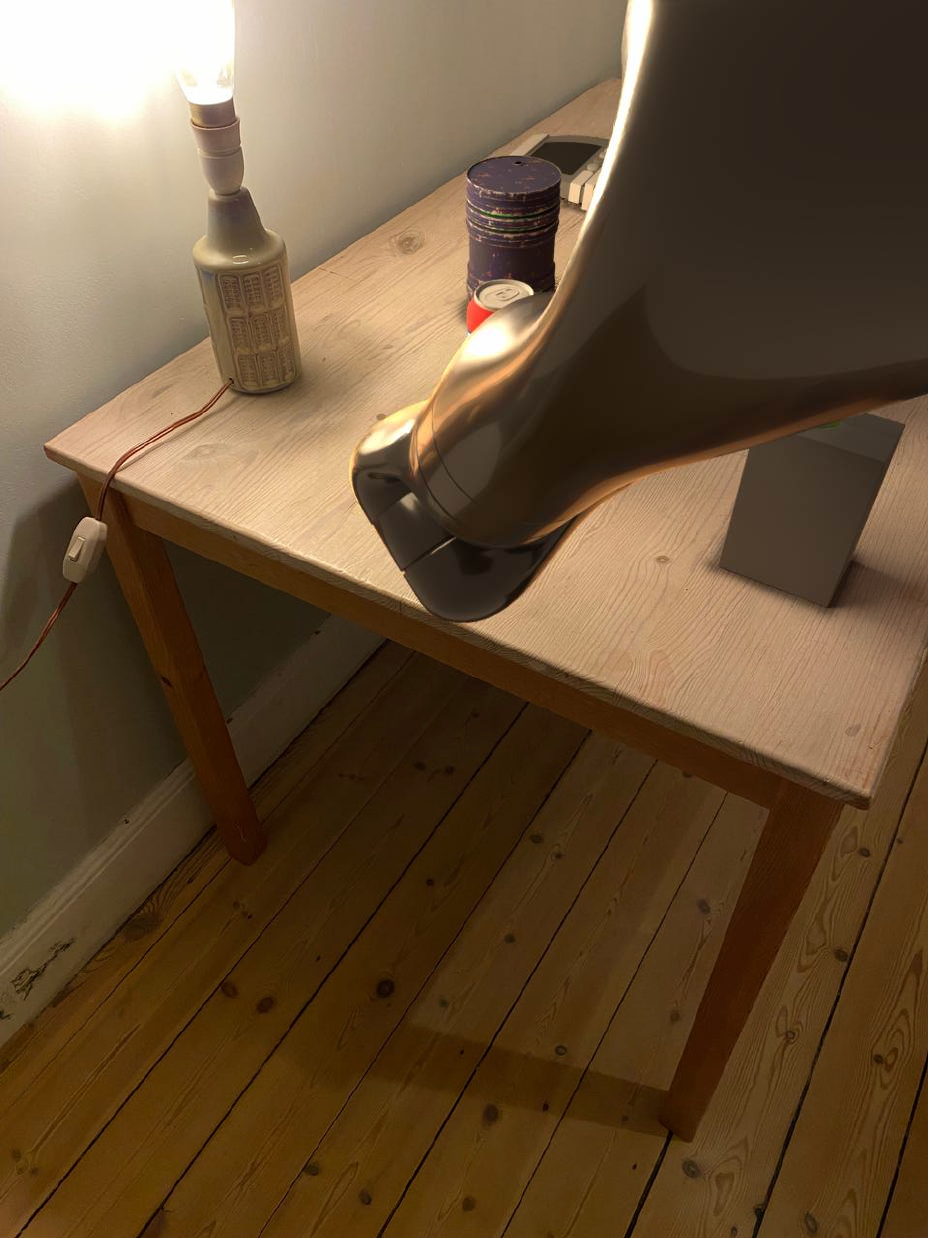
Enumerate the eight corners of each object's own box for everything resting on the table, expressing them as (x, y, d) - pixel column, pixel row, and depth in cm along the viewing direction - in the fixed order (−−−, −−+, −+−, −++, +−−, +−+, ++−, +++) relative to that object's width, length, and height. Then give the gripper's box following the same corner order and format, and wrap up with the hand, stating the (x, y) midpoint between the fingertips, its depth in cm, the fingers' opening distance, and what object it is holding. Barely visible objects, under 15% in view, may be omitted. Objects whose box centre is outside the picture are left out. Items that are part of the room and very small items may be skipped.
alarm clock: (594, 185, 118) (481, 154, 122) (588, 220, 122) (479, 189, 126) (638, 140, 129) (533, 113, 133) (631, 174, 132) (529, 146, 136)
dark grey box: (851, 558, 75) (910, 414, 64) (827, 607, 71) (885, 462, 61) (745, 521, 78) (786, 377, 68) (717, 565, 74) (755, 421, 64)
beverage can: (453, 407, 90) (450, 293, 81) (501, 381, 93) (503, 268, 84) (502, 436, 87) (504, 320, 78) (550, 407, 90) (557, 293, 81)
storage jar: (547, 337, 99) (555, 197, 88) (458, 328, 100) (456, 189, 90) (559, 293, 106) (568, 157, 95) (475, 286, 107) (475, 151, 96)
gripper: (802, 380, 44) (971, 275, 51) (589, 272, 51) (764, 192, 59) (763, 499, 50) (921, 389, 57) (576, 386, 57) (737, 301, 64)
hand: (841, 289), depth 58 cm, fingers closed on ink box, 8 cm apart
